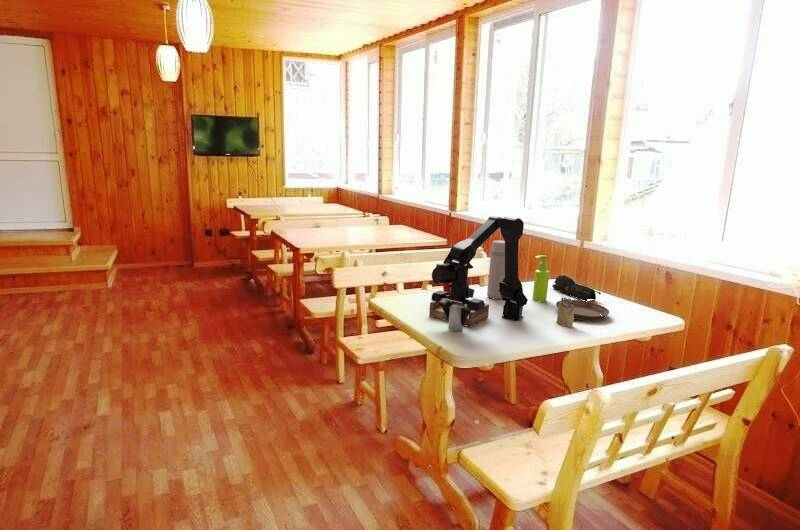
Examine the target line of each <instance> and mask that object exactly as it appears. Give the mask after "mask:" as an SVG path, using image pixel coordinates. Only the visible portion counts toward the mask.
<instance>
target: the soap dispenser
mask: <svg viewBox="0 0 800 530" xmlns="http://www.w3.org/2000/svg"><path fill="white" fill-rule="evenodd" d="M534 257H535V258H537V259H540V258H541V261H540V262H538V263H539V264H538V269H536V270H535V271H534V273H535V274H534V282H533V290H532V301H534V300H535V301H534V302H538V301H540V302H539V303H543V302H544V301H545V302H547V296H548V288H549V287H548V286H549V279H550V270H548V263H547V258H549V256H547V255H543V254H540V255H536V256H534ZM542 301H543V302H542Z"/></svg>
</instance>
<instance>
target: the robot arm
mask: <svg viewBox="0 0 800 530" xmlns="http://www.w3.org/2000/svg"><path fill="white" fill-rule="evenodd" d="M524 226H525V224H524V221H523V220H522V219H521V218H520V217H514V216H507V215H506V216H504V217H501V216H496V215H491V216H489V217H488V218H487V220H486V221H485V222H484V223H482V225H481V226H479V228H477V229H476V230H475V231H474V232H473V233H472V234H471V235H470V236H469V237H467V238H466V239H463V240H461V241H458V242H457V243H456V244H454V245H453V246H452V247H451V248H450V250H449V252H448V253H447V255H446V257H445V259H444V260H443V262H442V264H441V263H436V267H435V268H434V269H432V272H431V280H432V282H433V283H434V284H435V285H443V284H444V283H451V284H449V287H450V295H449V293H448V292H445V291H443V290H437V291H434V292H433V293H432V294H431V302H432V301H436V302H439V301H440V302H439V305H441V307H442V309H443V311H444V313H445V315H446V318H447V320H448V321H447V323H449V310H450V306H452V304H453V302H456V303H460V304H464V305H465V307H464V308H462V309H461V325H462V326H463V327H464V326H465V325H464V323H465V321H466V319H467V317H468V315H469V313H470V312H471V310H473V311H479V310H481V309H483V308H484V306H485V304H486V303H485V301H484V300H483V299H479V298H474V294H475V289H473V288H472V287H470V284H469V283H468V275H469V269H470V270H471V269H473V268H474V266H473V264H471V261H472V260H473V259H474V257H475V256H476V254H477V250H478V249H479V248H480V247H481V246H482V245H483V244H485V242H486V241H487V240H488V239H490V237H491V236H492V235H493V234H494V233H495V232H497V230H498V229H500V234H501V236H502V238H503V241H505V278H504V279H503V281H502V282H499V292H500V295H501V297H502V298H501V301H503V302H504V304H503V307H502V316H501V318H502V319H506V320H510V321H514V322H518V321H520V320H522V319H523V318H524V316H523V308H524V306H526V305H527V303H528V301H529V300H528V298H527V297H526V295H525V294H524V290H523V284H522V282H521V280H520V279H519V241H520V239H521V237H522V236H523V233H524ZM469 298H470V299H469ZM467 299H468V300H467Z"/></svg>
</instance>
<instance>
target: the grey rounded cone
mask: <svg viewBox="0 0 800 530" xmlns="http://www.w3.org/2000/svg"><path fill="white" fill-rule="evenodd" d="M462 308H464V307H462V306H458V305H453V306H450V310H449V322H448V324H447V325H448V327H447V328H448V330H449V329H450V330H449V331H451V330H453V331H452V332H462V331H463V329H464V325H463V326H462V325H461V309H462ZM461 330H462V331H461Z"/></svg>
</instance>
